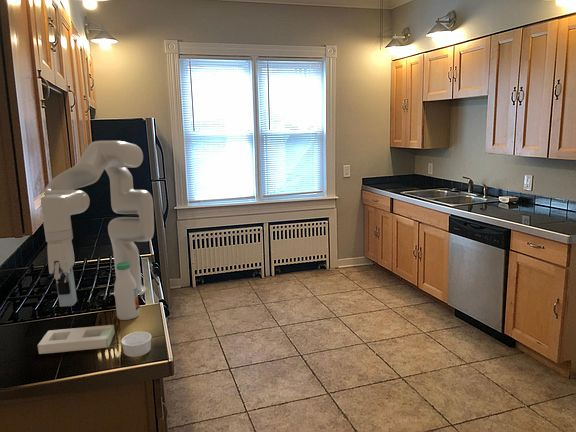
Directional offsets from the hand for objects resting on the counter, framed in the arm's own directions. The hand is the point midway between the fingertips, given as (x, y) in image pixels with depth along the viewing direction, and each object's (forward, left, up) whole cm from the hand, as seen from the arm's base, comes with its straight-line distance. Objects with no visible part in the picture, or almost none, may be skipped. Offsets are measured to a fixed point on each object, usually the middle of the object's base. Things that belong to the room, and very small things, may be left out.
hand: (66, 290), depth 148 cm
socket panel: (0, +1, -18) cm, 18 cm away
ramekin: (+9, +21, -18) cm, 29 cm away
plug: (0, 0, -4) cm, 4 cm away
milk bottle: (-18, +14, -18) cm, 29 cm away
